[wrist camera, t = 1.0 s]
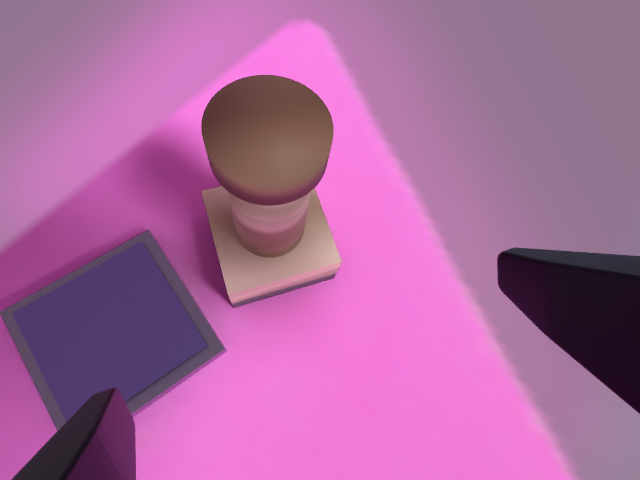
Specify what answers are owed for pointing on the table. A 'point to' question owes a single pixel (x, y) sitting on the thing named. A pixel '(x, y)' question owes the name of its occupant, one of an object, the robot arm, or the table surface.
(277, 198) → the stamp
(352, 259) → the table surface
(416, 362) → the table surface
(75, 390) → the ink pad
